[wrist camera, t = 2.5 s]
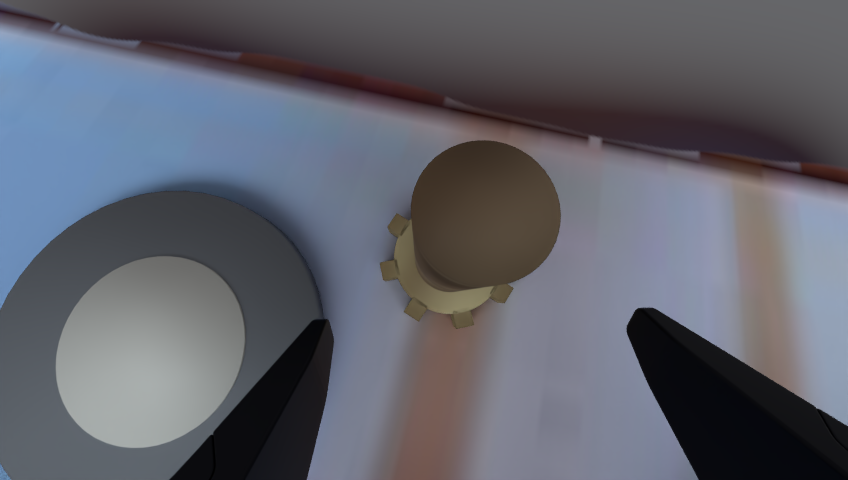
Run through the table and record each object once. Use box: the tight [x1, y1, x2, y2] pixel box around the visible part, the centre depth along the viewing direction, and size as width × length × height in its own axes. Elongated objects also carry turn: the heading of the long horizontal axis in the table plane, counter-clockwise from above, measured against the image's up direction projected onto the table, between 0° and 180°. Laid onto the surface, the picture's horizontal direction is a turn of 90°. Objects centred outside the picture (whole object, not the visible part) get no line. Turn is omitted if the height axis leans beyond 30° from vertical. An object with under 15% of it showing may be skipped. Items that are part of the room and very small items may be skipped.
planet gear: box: [380, 141, 561, 329], centre depth 14 cm, size 8×8×12 cm
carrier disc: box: [0, 191, 324, 480], centre depth 18 cm, size 18×18×1 cm
